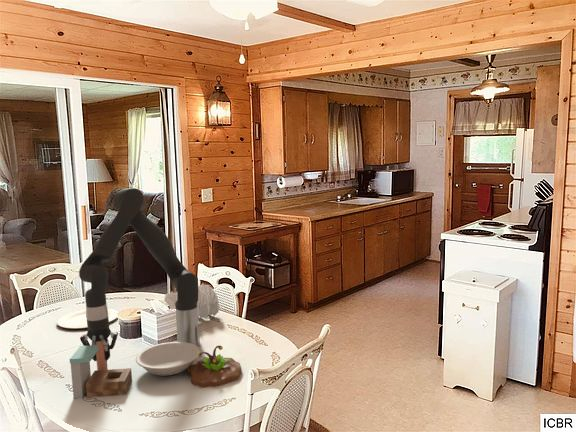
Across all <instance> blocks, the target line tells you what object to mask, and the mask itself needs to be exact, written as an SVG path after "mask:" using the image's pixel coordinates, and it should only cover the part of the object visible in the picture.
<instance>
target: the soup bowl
mask: <svg viewBox="0 0 576 432" xmlns="http://www.w3.org/2000/svg"><path fill="white" fill-rule="evenodd" d="M200 353H201V350H200V348H199V347H197V346H196V345H194V344H191V343H186V342H177V341H168V342H162V343H158V344H154V345H151V346H148V347H147V348H144V349H142V350H141V351H139V352H138V354H137V355H136V357H135V363H137V365H138V366H140V367H141V368H143V369H144V370H146V371H147V372H148V373H150V374H152V375H157V376H172V375H176V374H180V373H181V372H184V371H185V370H186V369H187V370H188V367H189V366H190V365H191V364H194V363H193V362H194V361H196V359H198V358H199V357H198V355H199V354H200Z"/></svg>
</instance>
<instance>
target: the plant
mask: <svg viewBox="0 0 576 432" xmlns="http://www.w3.org/2000/svg"><path fill="white" fill-rule="evenodd" d="M217 348H218V349H219V350H220V351H221V350H223V348H224V347H223V346H222V345H216V346H215V347H214V349H213V351H212V354H211V353H209V352H208V351H207V352H206V351H202V352H200V354H199V355H198V357H197V358H202V356H203V355H202V354H204V355H207V356H208V357H207V356H204V357H203V360H199V361H197V362H196V363H192V364H191V365H190V366H189V367H188V368H187V375H188V376H189V377H190V380H191V384H192V385H194V386H195V387H198V388H200V389H204V388H207V387H208V388H209V387H212V388H218V387H220V386H223V385H227V384H230V383H233V382H237V381H239V379H240V377H241V375H242V366H241V363H240V362H238V361H236V360H235V359H234V358H232V357H224V356H223V355H222V354H220V353H218V354H217V353H216V351H217ZM216 354H217V355H216Z"/></svg>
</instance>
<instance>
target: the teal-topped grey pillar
mask: <svg viewBox="0 0 576 432" xmlns="http://www.w3.org/2000/svg"><path fill="white" fill-rule="evenodd" d="M98 350H99V345H92V344H90V346H83V345H80V346H79V347H78V348H77V349H76V351H75V352H74V353H73V355H72V356H71V357H69V364H70V370H71V371H70V373H71V383H72V385H71V386H72V395H73V399H82V398H84V396H85V394H87V390H86V383H87V382H88V380H89V378H90V377H91V375H92V372H91V361H93V359H92V358H93V357H94V355H95V354H96V353H97V351H98Z"/></svg>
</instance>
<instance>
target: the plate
mask: <svg viewBox="0 0 576 432" xmlns="http://www.w3.org/2000/svg"><path fill="white" fill-rule="evenodd" d="M107 308H108V307H107ZM117 313H119V311H118V310H116V309H113V308H108V318H109V323H111V322H113V321H114V320H116V319H118V317H117ZM56 324H57V326H58V327H61V328H64V329H71V330H74V329H75V330H76V329H77V330H80V329H81V330H82V329H88V328H87V318H86V309H81V310H77V311H72V312H70V313H67V314H66V315H63V316H61V317H60V318H59V319H58V320H57V322H56Z"/></svg>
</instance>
